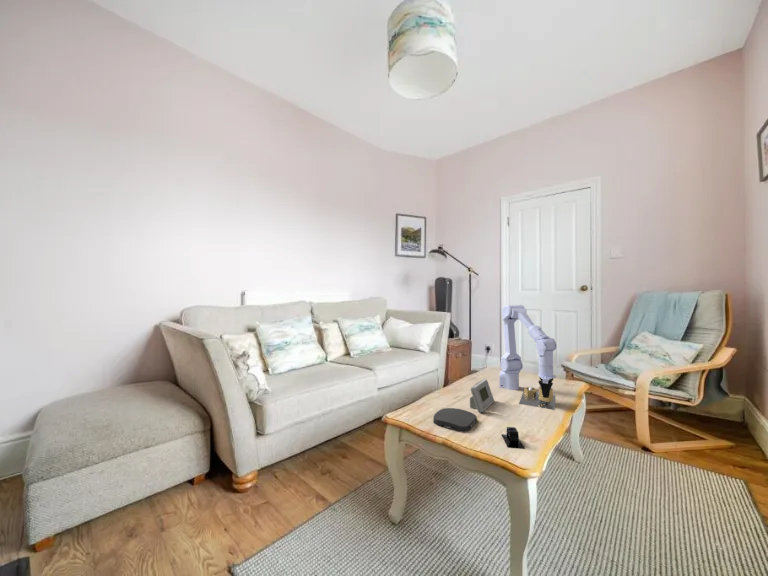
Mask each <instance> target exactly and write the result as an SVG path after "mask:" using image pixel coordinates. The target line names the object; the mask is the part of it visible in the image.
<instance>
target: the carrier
mask: <svg viewBox="0 0 768 576" xmlns="http://www.w3.org/2000/svg"><path fill="white" fill-rule="evenodd" d="M518 404H519V405H523V406H530V407H534V408H535V407H536V408H541V409H547V410H552V411H555V410H556V395H554V394H553V402H546V401H542V400H539V390H538V388H535V387H531V386H526V387H524V388H523V391H522V394H521V397H520V400H519V403H518Z"/></svg>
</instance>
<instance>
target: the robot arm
mask: <svg viewBox="0 0 768 576" xmlns="http://www.w3.org/2000/svg"><path fill="white" fill-rule="evenodd" d="M501 315H502V317H501V318H502V325H503V337H504V350H505V353H504V354H503V355H502V356H500V357H501V360H500V369H501V370H500V371H499V383H498V385H499V388H501V389H507V390H512V391H515V390H519V389H520V373H521V371H522V369H523V367H524V365H523V361H522V357H521V355H519V354H518V352H517V342H516V331H515V323H516V322H517V321H518V320H519V321H520V322H521V323H522V324H523V325H524V326H525V328H527V329H528V332H527V334H529V336H530V337H531V339H532V340H533V341H534V342H535V348H536V350H537V354H538V374H537V375H538V378H539V380H538V384H539V387H541V390H542V395H543V397H544V398H549V393H550V389H551V388H552V387H553V384H554V383H553V381H554V379H557V375H555V374H554V351H555V350H556V349H557V343H556V341H555V339H554V338H553V337H550V336H549V335H547V334H546V333H545V331H543V330H542V327H541V326H539V325H535V323H534V322H533V321H532V319H531V318H530V316H529V315H528V314H527V308H525V306H524V305H523V304H514V305H513V304H512V305H511V304H509V305H508V304H505V305H504V306H503V308H502V309H501Z"/></svg>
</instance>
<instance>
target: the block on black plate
mask: <svg viewBox="0 0 768 576" xmlns="http://www.w3.org/2000/svg"><path fill="white" fill-rule="evenodd" d="M501 437H502V439H503V441H504V443H505V445H506V447H507V449H520V450H526V447H525V446H524V444H523V443H522V441H521V440H520V439H521V438H520V437H519V431H518V430H517V428H516V427H514V426H513V427H512V426H506V434H503V433H501Z"/></svg>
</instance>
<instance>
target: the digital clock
mask: <svg viewBox="0 0 768 576" xmlns="http://www.w3.org/2000/svg"><path fill="white" fill-rule="evenodd" d="M470 392H471V397H469V408H470V409H474V410H477V412H478V413H481V414H483V412H485V411H486V410H487V409H488V408H489V407H490V406H491V405H492V404H493V403H495V398H494V396H493V393H492V390H491V387H490V385H489V381H488V379H486V378H483V379H481V380H479V381H478V382H476V383H475V384H474V385H472V386H471V387H470Z"/></svg>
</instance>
